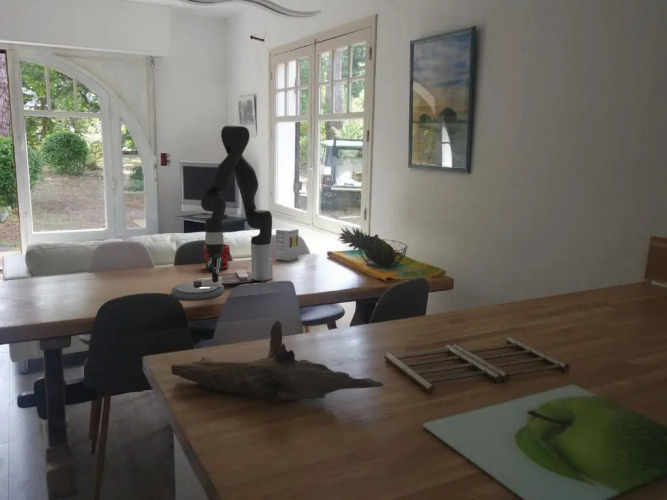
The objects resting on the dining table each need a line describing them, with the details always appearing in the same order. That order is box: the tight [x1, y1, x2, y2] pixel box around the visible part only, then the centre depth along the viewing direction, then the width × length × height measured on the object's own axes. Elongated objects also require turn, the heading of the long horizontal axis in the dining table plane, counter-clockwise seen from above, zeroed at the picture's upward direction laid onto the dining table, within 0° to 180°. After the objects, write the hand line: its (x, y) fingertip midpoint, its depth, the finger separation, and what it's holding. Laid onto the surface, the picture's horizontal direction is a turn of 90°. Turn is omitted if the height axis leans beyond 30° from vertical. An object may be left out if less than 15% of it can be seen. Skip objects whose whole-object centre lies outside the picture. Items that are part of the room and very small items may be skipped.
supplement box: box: [275, 227, 299, 262], centre depth 318 cm, size 10×9×17 cm
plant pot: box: [203, 243, 231, 270], centre depth 295 cm, size 13×13×12 cm
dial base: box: [171, 284, 225, 301], centre depth 248 cm, size 22×22×2 cm
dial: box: [175, 276, 223, 294], centre depth 248 cm, size 20×18×4 cm
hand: (215, 281), depth 245 cm, fingers closed
